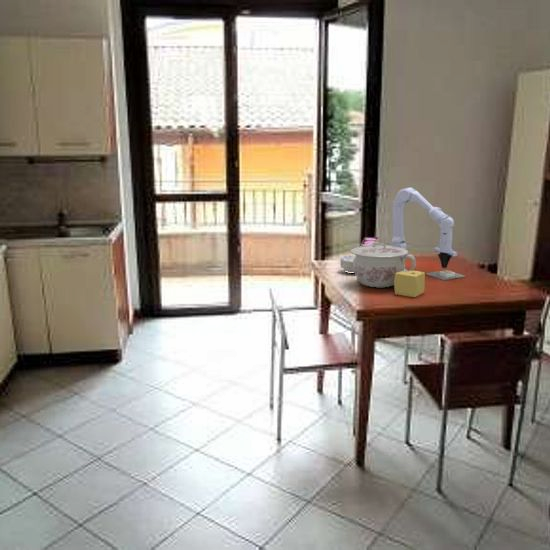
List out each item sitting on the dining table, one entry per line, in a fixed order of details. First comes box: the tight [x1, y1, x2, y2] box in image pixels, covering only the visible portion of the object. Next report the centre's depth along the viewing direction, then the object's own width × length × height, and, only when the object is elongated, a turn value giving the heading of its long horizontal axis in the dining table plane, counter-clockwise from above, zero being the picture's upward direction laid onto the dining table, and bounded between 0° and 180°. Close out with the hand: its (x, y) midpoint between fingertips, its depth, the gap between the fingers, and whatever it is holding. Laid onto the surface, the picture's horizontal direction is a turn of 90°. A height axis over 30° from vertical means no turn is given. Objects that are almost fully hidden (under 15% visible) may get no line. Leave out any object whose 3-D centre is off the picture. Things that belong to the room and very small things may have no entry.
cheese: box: [393, 270, 426, 298], centre depth 249 cm, size 10×11×10 cm
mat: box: [425, 271, 467, 281], centre depth 281 cm, size 14×14×1 cm
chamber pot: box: [350, 242, 417, 289], centre depth 264 cm, size 28×28×21 cm
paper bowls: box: [339, 254, 356, 272], centre depth 291 cm, size 15×15×8 cm
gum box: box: [360, 236, 379, 246], centre depth 309 cm, size 24×8×14 cm, turn 164°
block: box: [438, 269, 456, 278], centre depth 279 cm, size 5×2×6 cm
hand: (444, 267), depth 280 cm, fingers closed
